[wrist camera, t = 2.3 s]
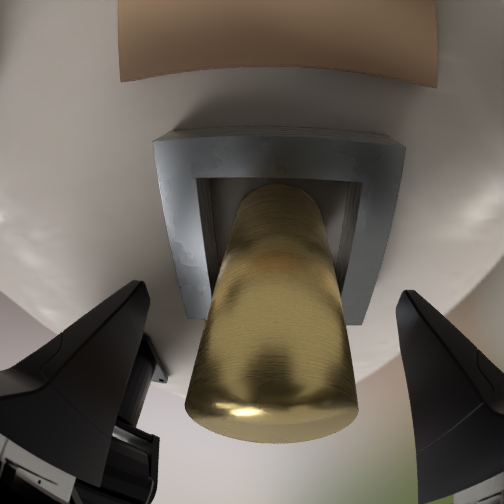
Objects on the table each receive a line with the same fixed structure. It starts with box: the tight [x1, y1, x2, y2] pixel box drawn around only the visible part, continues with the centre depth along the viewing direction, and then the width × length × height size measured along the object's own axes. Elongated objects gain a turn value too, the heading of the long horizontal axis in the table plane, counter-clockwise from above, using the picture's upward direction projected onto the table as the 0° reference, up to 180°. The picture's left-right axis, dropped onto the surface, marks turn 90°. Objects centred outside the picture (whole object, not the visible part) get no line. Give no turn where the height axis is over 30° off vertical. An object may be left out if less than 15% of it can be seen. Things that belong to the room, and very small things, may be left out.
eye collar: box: [153, 126, 406, 325], centre depth 12 cm, size 9×9×2 cm
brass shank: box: [185, 184, 359, 443], centre depth 9 cm, size 4×4×9 cm
